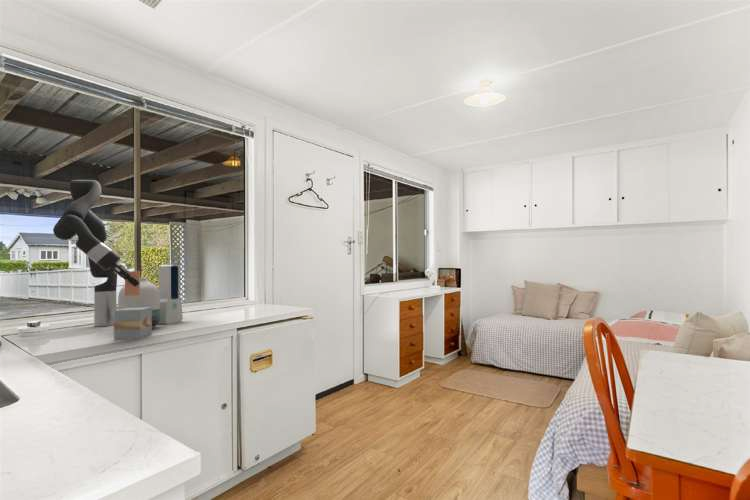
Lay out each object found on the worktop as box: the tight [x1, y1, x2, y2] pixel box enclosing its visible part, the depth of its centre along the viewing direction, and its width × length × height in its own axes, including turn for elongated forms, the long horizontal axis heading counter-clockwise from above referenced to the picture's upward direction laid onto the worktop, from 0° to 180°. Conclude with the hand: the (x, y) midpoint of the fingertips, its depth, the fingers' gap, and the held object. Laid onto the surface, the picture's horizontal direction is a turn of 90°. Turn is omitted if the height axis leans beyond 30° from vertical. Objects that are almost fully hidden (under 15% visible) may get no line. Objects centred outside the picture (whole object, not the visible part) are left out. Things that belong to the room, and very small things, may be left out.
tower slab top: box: [115, 307, 152, 320], centre depth 163 cm, size 10×10×4 cm
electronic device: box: [157, 264, 184, 325], centre depth 200 cm, size 12×8×30 cm, turn 168°
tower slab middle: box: [113, 316, 152, 330], centre depth 162 cm, size 10×10×4 cm
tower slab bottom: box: [113, 326, 153, 341], centre depth 162 cm, size 10×10×4 cm
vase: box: [117, 277, 160, 328], centre depth 183 cm, size 17×17×24 cm
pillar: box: [124, 270, 141, 296], centre depth 163 cm, size 5×5×10 cm
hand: (137, 284), depth 163 cm, fingers closed on pillar, 5 cm apart
